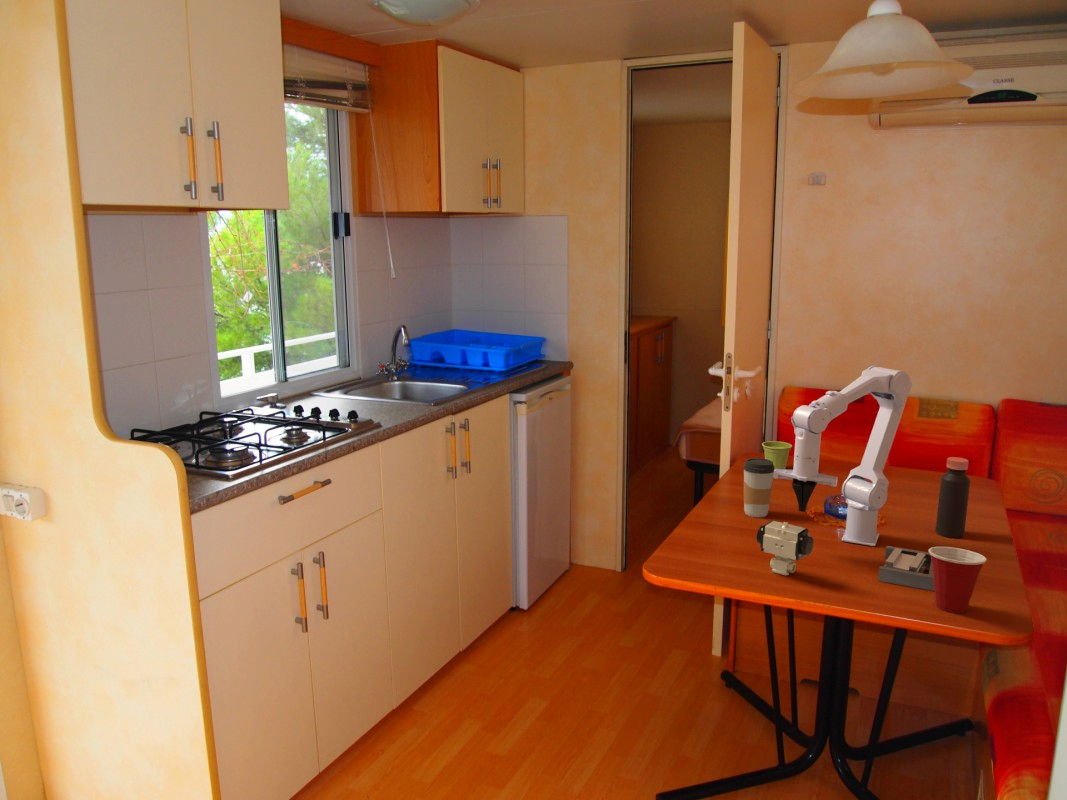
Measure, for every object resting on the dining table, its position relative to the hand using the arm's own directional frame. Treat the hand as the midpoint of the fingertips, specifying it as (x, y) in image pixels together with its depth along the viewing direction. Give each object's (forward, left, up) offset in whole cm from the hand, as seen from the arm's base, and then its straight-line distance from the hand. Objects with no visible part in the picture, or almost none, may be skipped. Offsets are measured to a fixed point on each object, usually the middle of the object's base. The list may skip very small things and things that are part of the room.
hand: (802, 510), depth 206 cm
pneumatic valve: (+16, -1, -11) cm, 19 cm away
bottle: (-32, +32, -11) cm, 46 cm away
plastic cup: (+17, +34, -11) cm, 39 cm away
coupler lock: (+2, +24, -11) cm, 26 cm away
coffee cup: (-23, -16, -11) cm, 30 cm away
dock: (+2, +24, -10) cm, 26 cm away
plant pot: (-71, -21, -11) cm, 75 cm away
